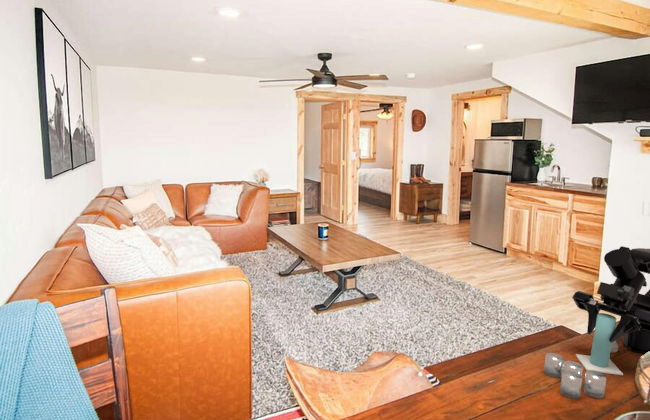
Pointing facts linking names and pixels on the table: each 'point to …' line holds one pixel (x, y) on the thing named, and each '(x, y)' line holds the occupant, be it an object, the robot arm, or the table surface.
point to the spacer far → (571, 384)
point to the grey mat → (589, 366)
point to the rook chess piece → (614, 344)
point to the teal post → (602, 340)
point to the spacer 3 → (594, 384)
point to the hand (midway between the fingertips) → (599, 337)
